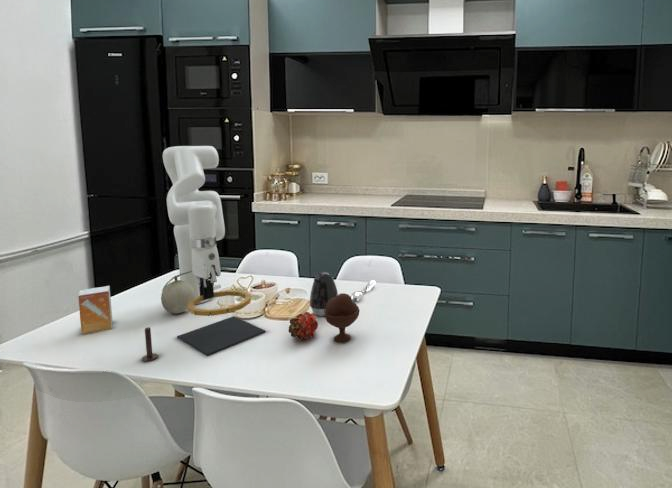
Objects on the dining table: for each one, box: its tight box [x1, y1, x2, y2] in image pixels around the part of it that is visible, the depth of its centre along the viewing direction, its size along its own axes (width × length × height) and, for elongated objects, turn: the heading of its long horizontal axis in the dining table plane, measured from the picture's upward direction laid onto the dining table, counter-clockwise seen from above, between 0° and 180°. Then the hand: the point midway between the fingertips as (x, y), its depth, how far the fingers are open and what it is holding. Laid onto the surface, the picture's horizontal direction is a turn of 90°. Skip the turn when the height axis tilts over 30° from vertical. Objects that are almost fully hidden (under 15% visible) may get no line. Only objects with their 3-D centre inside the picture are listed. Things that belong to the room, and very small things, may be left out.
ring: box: [187, 289, 251, 317], centre depth 137 cm, size 18×18×1 cm
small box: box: [77, 285, 113, 335], centre depth 143 cm, size 8×6×13 cm
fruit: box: [160, 271, 195, 315], centre depth 155 cm, size 10×12×15 cm
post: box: [141, 326, 159, 363], centre depth 123 cm, size 4×4×9 cm
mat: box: [176, 315, 267, 356], centre depth 138 cm, size 19×19×1 cm
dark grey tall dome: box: [309, 271, 339, 317], centre depth 154 cm, size 10×10×15 cm
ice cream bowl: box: [324, 293, 360, 344], centre depth 134 cm, size 11×11×15 cm
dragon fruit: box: [287, 311, 319, 341], centre depth 137 cm, size 8×8×12 cm
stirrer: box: [350, 280, 377, 303], centre depth 175 cm, size 20×4×5 cm
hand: (207, 297), depth 142 cm, fingers closed on ring, 1 cm apart
